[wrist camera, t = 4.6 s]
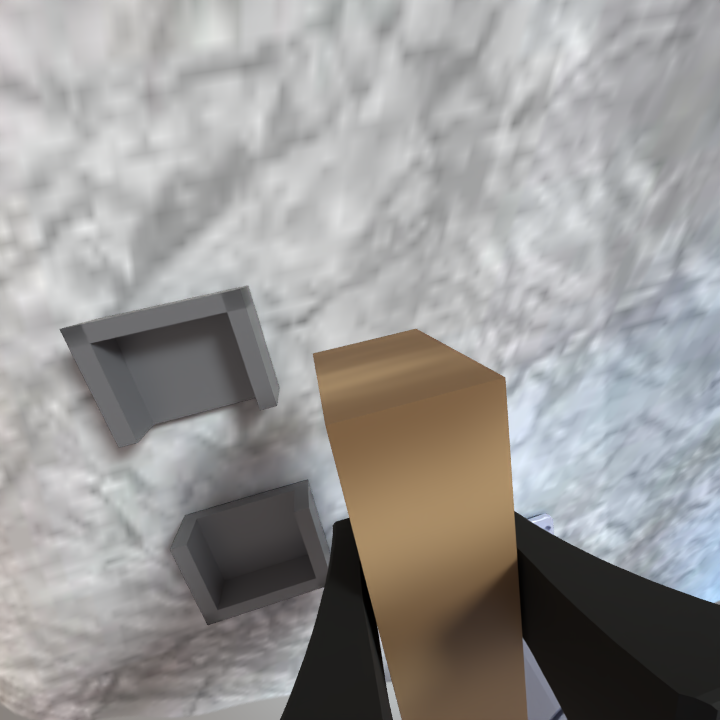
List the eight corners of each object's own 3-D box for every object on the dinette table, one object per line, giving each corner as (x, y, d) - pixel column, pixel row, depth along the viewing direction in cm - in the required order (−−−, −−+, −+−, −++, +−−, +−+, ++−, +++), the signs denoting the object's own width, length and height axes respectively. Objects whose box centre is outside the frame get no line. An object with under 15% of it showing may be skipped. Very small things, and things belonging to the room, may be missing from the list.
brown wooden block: (454, 588, 15) (529, 742, 10) (379, 614, 14) (419, 787, 10) (416, 328, 11) (505, 377, 6) (312, 353, 11) (325, 425, 6)
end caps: (329, 549, 21) (332, 584, 19) (217, 585, 21) (207, 625, 18) (248, 285, 16) (240, 288, 14) (94, 319, 15) (59, 329, 13)
